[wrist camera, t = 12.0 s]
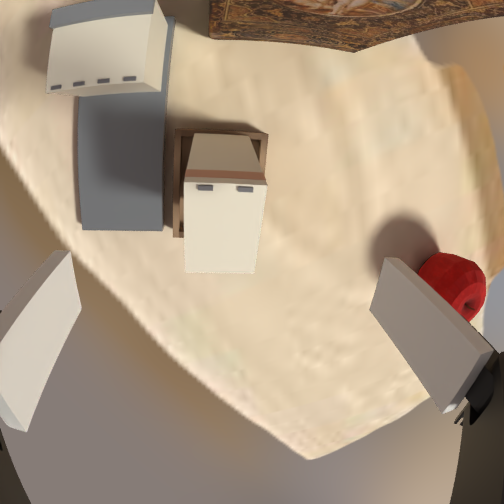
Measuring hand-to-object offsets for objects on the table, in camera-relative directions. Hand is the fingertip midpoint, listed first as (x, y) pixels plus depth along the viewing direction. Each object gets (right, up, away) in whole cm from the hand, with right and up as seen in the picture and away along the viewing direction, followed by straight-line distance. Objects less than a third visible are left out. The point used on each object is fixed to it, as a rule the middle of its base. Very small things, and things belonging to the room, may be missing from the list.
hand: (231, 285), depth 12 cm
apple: (+26, -1, +28) cm, 38 cm away
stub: (-2, +9, +17) cm, 19 cm away
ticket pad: (-11, +19, +11) cm, 25 cm away
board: (-12, +14, +15) cm, 24 cm away
